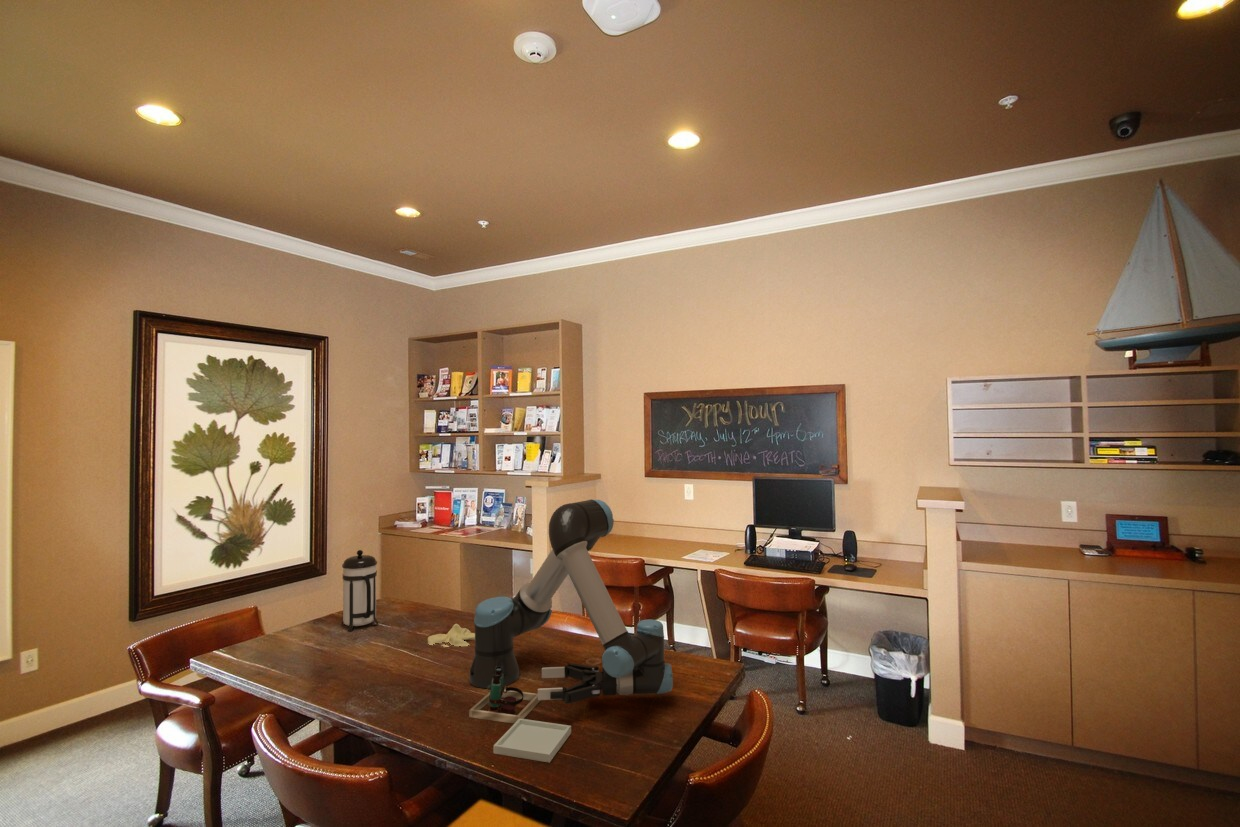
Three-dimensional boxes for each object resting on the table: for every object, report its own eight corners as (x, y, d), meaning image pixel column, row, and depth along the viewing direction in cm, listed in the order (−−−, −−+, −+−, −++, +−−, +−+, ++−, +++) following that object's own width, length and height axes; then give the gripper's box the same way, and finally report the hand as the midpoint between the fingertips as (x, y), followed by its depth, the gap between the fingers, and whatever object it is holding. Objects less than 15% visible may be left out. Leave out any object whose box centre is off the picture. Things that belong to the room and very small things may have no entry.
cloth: (416, 643, 209) (416, 626, 210) (457, 628, 224) (457, 612, 225) (456, 656, 197) (456, 638, 197) (496, 639, 212) (496, 623, 212)
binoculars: (524, 678, 153) (486, 677, 153) (520, 718, 153) (483, 717, 152) (527, 665, 162) (491, 663, 162) (523, 703, 162) (487, 701, 161)
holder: (469, 717, 153) (469, 710, 153) (494, 694, 166) (494, 688, 166) (518, 724, 148) (518, 717, 149) (540, 700, 161) (540, 694, 162)
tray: (493, 753, 135) (493, 745, 135) (519, 725, 148) (519, 718, 148) (549, 762, 131) (549, 754, 131) (571, 733, 144) (571, 725, 144)
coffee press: (328, 632, 221) (328, 554, 222) (354, 618, 237) (354, 546, 238) (369, 634, 218) (369, 555, 219) (392, 620, 234) (392, 546, 235)
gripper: (619, 715, 146) (536, 719, 145) (614, 674, 171) (543, 677, 170) (618, 686, 147) (535, 689, 145) (614, 649, 172) (543, 652, 170)
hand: (539, 683), depth 158 cm, fingers open, 13 cm apart
